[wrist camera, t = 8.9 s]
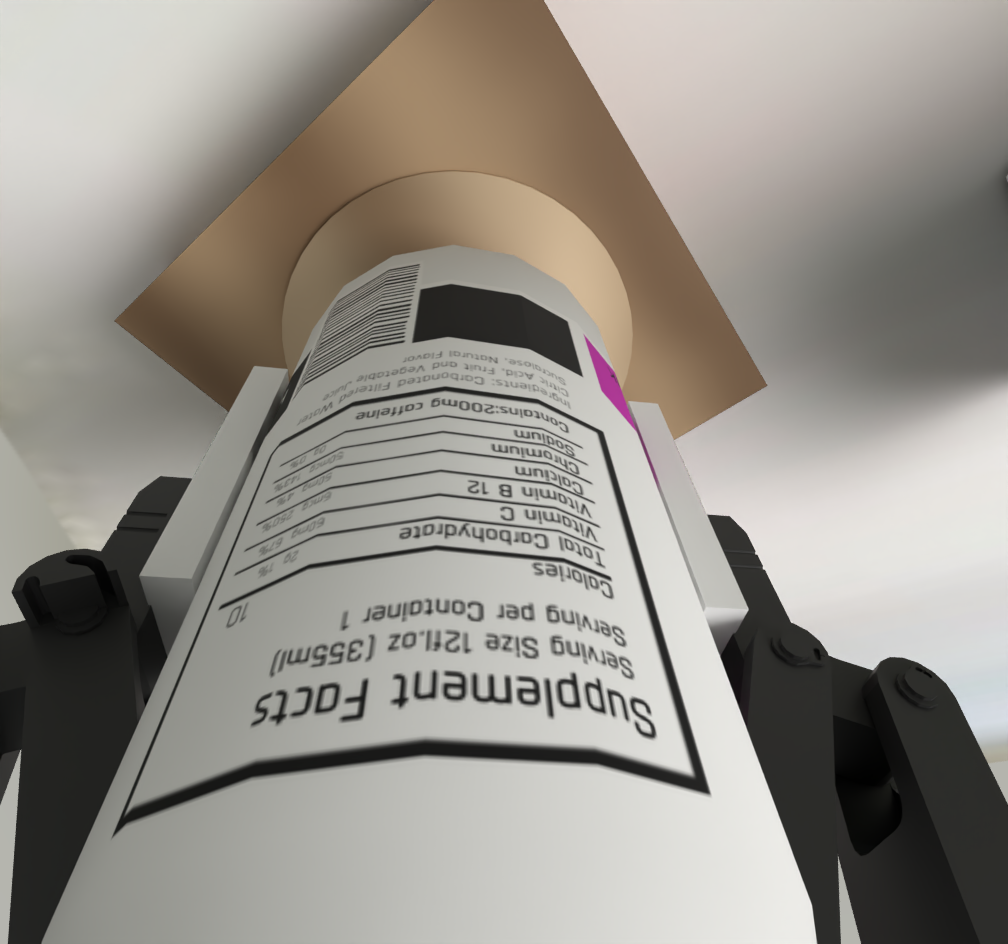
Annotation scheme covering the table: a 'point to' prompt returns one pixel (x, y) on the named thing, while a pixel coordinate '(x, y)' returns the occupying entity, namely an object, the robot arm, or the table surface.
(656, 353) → the walnut base
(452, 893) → the supplement can
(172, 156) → the table surface
